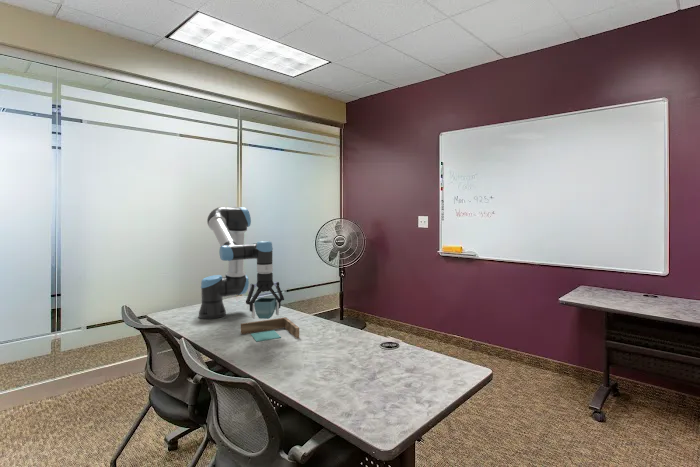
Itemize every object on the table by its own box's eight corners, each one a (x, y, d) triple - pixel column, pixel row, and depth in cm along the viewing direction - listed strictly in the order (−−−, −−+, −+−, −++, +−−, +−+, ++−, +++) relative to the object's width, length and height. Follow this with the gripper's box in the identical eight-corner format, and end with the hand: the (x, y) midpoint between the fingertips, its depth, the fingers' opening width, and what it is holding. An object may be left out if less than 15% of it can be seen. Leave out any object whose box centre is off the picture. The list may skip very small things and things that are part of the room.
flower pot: (260, 314, 186) (259, 297, 186) (277, 315, 185) (276, 297, 185) (253, 320, 177) (253, 301, 177) (271, 320, 176) (271, 302, 176)
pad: (250, 334, 184) (250, 333, 184) (273, 330, 190) (273, 329, 190) (256, 341, 174) (256, 341, 174) (281, 337, 180) (281, 337, 180)
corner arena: (240, 333, 186) (240, 323, 186) (286, 326, 197) (286, 317, 197) (250, 346, 168) (249, 335, 168) (299, 337, 180) (299, 327, 180)
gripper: (242, 275, 171) (242, 321, 172) (290, 271, 182) (290, 314, 184) (238, 273, 178) (239, 317, 179) (285, 269, 189) (285, 311, 190)
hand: (265, 316), depth 181 cm, fingers closed on flower pot, 11 cm apart
